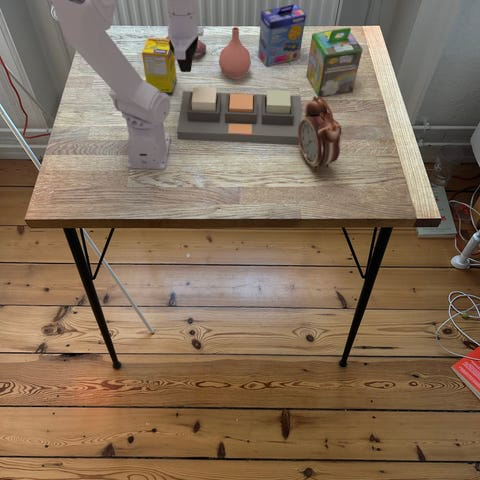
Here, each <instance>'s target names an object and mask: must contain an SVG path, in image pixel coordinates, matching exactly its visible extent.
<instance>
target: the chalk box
mask: <svg viewBox="0 0 480 480" xmlns="http://www.w3.org/2000/svg"><path fill="white" fill-rule="evenodd" d="M351 31H352V28H351V27H345V28H344V27H343V28H337V29H332V30H324V31H319V32H314V33H312V34H311V40H310V47H309V55H308V62H307V70H306V76H307V79H308V81H309V83H310V84H311V86H312V87H313V89H314V91H315V93H316V94H317V97H324V96H331V95H337V94H339V95H340V94H343V93H344V94H345V93H352V92H354V85H355V82H356V78H357V74H358V70H359V66H360V62H361V57H362V54H363V49H364V48H363V47H362V46H361V45H360V43H359V42H358V41H357V39H356V37H355V36H354V35H353V34H352V32H351Z"/></svg>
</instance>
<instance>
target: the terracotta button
mask: <svg viewBox="0 0 480 480" xmlns="http://www.w3.org/2000/svg"><path fill="white" fill-rule="evenodd" d="M250 94H251V93H239V94H230V105H229V112H244V113H252V111H253V95H250Z"/></svg>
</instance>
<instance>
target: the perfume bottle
mask: <svg viewBox="0 0 480 480" xmlns="http://www.w3.org/2000/svg"><path fill="white" fill-rule="evenodd" d="M231 31H232V32H231V33H232V34H231V36H232V37H231V40H230V41H229V43H228V44H227V45H226V46H224V48H223V49H221V51H220V53H219V58H218V59H219V60H218V63H219V64H218V65H219V67H220V71H221V73H222V75H224V76H225V77H227V78H230V79H240V78H243V77H245V76H247V75H248V72H249V69H250V67H251V65H252V60H251V55H250V51H249V50H248V48H247V47H245V46H244V45H243V44H242V42H241V40H240V28H239V27H237V26H235V27H231Z"/></svg>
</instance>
